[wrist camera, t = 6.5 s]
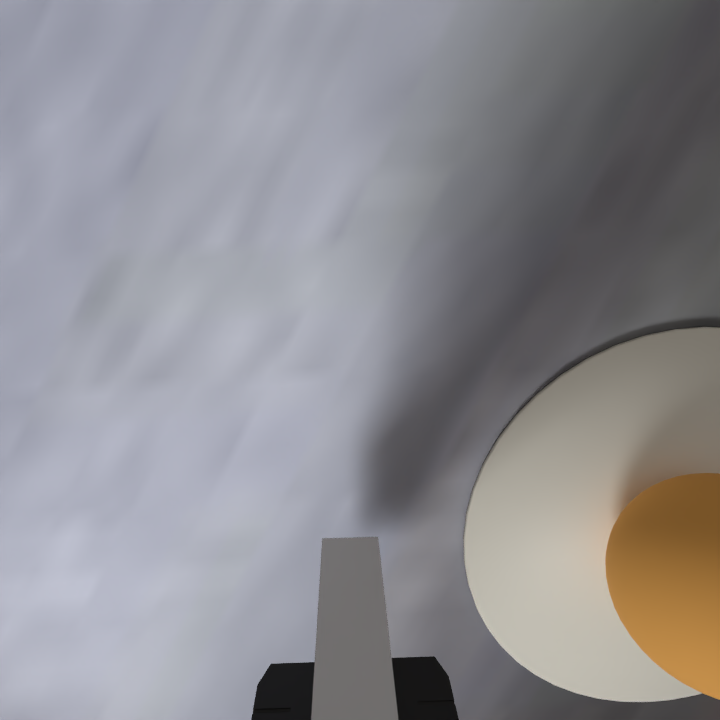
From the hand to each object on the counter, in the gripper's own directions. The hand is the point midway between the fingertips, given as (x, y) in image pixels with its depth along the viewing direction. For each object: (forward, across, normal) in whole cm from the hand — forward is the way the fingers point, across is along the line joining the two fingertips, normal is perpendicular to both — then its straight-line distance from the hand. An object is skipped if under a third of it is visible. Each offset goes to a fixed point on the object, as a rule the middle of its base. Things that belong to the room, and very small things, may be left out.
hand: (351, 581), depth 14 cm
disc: (+2, -10, 0) cm, 10 cm away
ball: (-1, -10, 0) cm, 10 cm away
